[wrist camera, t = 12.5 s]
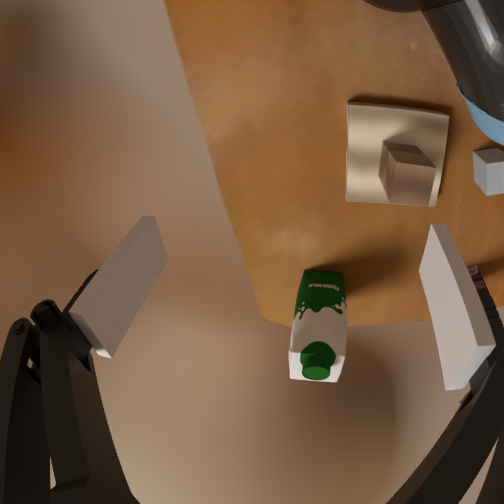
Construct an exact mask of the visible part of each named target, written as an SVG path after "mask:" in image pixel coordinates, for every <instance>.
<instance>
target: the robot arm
mask: <svg viewBox="0 0 504 504" xmlns="http://www.w3.org/2000/svg"><path fill="white" fill-rule="evenodd" d="M364 1H365V2H367V3H369V4H371V5H373V6H375V7H378V8H381V9H384V10H388V11H393V12H402V13H407V12H415V11H419V10H421V12H422V13H423V15H424V17H425V19H426V20H427V22H428V24H429V26H430V27H431V29H432V31H433V33H434V35H435V36H436V38H437V40H438V42H439V44H440V46H441V48H442V50H443V52H444V54H445V56H446V58H447V60H448V62H449V65H450V67H451V69H452V71H453V73H454V76H455V78H456V80H457V87H458V90H459V92H460V94H461V96H462V97H463V98H464V100H465V102H466V104H467V106H468V109H469V111H470V114H471V116H472V119H473V121H474V122H475V124H476V125H477V126H478V127H479V128H480V130H481V131H482V132H483V133H484V134H485V135H486V136H488V137H489V138H490V139H492V140H493V141H495V142H497V143H499V144H501V145H503V146H504V0H364ZM167 261H168V258H167V254H166V251H165V248H164V245H163V242H162V239H161V235H160V233H159V229H158V226H157V223H156V219H155V217H153V216H148V217H147V216H146V217H141V218H140V220H139V221H138V222H137V223H136V224H135V225H134V227H133V228H132V229H131V230H130V231H129V233H128V234H127V235H126V236H125V238H124V239H123V240H122V241H121V242H120V244H119V245H118V246H117V247H116V249H115V250H114V251H113V252H112V254H111V255H110V256H109V257H108V259H107V260H106V261H105V263H104V264H103V265H102V266H101V268H100V269H97V270H96V271H94V272H93V273H92V274H91V275H89V276H88V278H87V279H86V280H85V281H84V283H83V285H82V286H81V287H80V288H79V290H78V292H76V294H75V295H74V296H73V298H72V299H71V301H70V302H69V303H68V305H67V306H66V307H65V309H64V310H63V312H62V313H61V311H60V310H59V308H58V307H57V305H56V304H55V302H54V301H52V300H48V299H47V300H44V301H42V302H40V303H38V304H37V305H36V306H35V307H34V309H33V310H32V312H31V315H30V317H31V319H32V320H33V321H34V323H35V324H36V325H32V324H31V322H30V321H29V320H28V319H27V318H21V319H18V320H17V321H15V322H14V324H13V325H12V326H11V328H10V330H9V332H8V336H7V339H6V342H5V345H4V349H3V353H2V356H1V359H0V504H140V503H139V502H138V500H137V499H136V498H135V497H134V496H133V495H132V493H131V491H130V489H129V486H128V483H127V481H126V478H125V476H124V473H123V470H122V467H121V464H120V461H119V459H118V456H117V453H116V449H115V446H114V443H113V440H112V437H111V434H110V430H109V426H108V423H107V419H106V416H105V412H104V408H103V404H102V400H101V396H100V392H99V387H98V383H97V378H96V373H95V368H94V364H93V358H92V355H91V353H90V350H91V348H92V347H93V348H94V349H95V351H96V352H97V353H98V354H99V355H101V356H105V357H108V358H112V357H113V355H114V353H115V352H116V350H117V348H118V346H119V344H120V342H121V340H122V338H123V337H124V335H125V333H126V331H127V330H128V328H129V326H130V324H131V322H132V321H133V319H134V317H135V315H136V313H137V312H138V310H139V308H140V306H141V305H142V303H143V301H144V299H145V297H146V296H147V294H148V293H149V291H150V289H151V287H152V286H153V284H154V282H155V281H156V279H157V277H158V276H159V274H160V272H161V271H162V269H163V267H164V266H165V264H166V262H167ZM419 273H420V277H421V280H422V284H423V287H424V291H425V294H426V298H427V302H428V306H429V310H430V314H431V318H432V322H433V326H434V331H435V335H436V340H437V344H438V350H439V355H440V360H441V366H442V372H443V377H444V384H445V390H456V389H463V388H464V386H465V385H466V384H467V382H470V387H471V390H470V391H469V392H468V393H467V394H466V396H465V397H464V398H463V399H462V400H461V401H460V402H459V403H460V404H461V403H462V404H461V405H460V407H459V409H458V410H457V412H456V413H455V415H454V417H453V418H452V420H451V421H450V423H449V424H448V426H447V428H446V429H445V431H444V432H443V434H442V435H441V437H440V438H439V439H438V441H437V442H436V444H435V445H434V446H433V448H432V449H431V451H430V452H429V453H428V454H427V456H426V457H425V458H424V460H423V461H422V462H421V464H420V465H419V466H418V467H417V469H416V470H415V471H414V473H413V474H412V475H411V476H410V477H409V478H408V480H407V481H406V482H405V483H404V484H403V485H402V487H401V488H400V489H399V490H398V491H397V492H396V493H395V494H394V496H393V497H392V498H391V499H390V500H389V501H388V502H387V503H386V504H458V503H459V502H460V500H461V499H462V498H463V496H464V495H465V493H466V492H467V490H468V489H469V487H470V485H471V484H472V483H473V481H474V479H475V478H476V476H477V475H478V473H479V471H480V469H481V468H482V466H483V464H484V463H485V461H486V459H487V457H488V456H489V454H490V452H491V450H492V448H493V446H494V444H495V443H496V441H497V439H498V441H497V445H496V448H495V452H494V455H493V458H492V461H491V464H490V467H489V470H488V473H487V476H486V479H485V482H484V484H483V487H482V489H481V492H480V494H479V497H478V499H477V502H476V504H504V327H503V324H502V321H501V319H500V318H499V313H498V311H497V310H496V306H495V303H494V301H493V299H492V297H491V296H490V295H489V293H488V292H487V291H486V290H485V289H479V288H475V285H474V283H473V281H472V278H471V276H470V274H469V272H468V269H467V267H466V265H465V263H464V261H463V258H462V256H461V254H460V252H459V250H458V248H457V246H456V244H455V242H454V240H453V238H452V236H451V234H450V232H449V230H448V228H447V226H446V225H441V224H431V227H430V231H429V235H428V239H427V243H426V247H425V251H424V254H423V258H422V261H421V265H420V268H419ZM28 360H29V361H30V362H31V363H32V367H31V368H29V367H28V366H27V363H28ZM498 437H499V438H498ZM50 457H51V462H52V466H53V471H54V476H55V480H56V485H55V487H53V488H52V489H51V490H50Z"/></svg>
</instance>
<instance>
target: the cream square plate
mask: <svg viewBox="0 0 504 504" xmlns="http://www.w3.org/2000/svg"><path fill="white" fill-rule="evenodd" d="M448 123H449V116H448V115H447V114H445V113H444V112H439V111H433V110H426V109H419V108H412V107H404V106H395V105H385V104H374V103H360V102H347V154H346V181H345V199H346V201H351V202H370V203H386V204H398V203H390V202H389V200H388V197H387V195H386V192H385V190H384V188H383V185H382V183H381V180H380V178H379V176H378V175H379V167H380V159H381V151H382V141H385V142H392V143H400V144H407V145H413V146H417V147H418V148H419V149H420V150H421V151H422V152H423V153H424V154H425V155H426V156H427V158H428V159H429V160H430V161H431V162H432V163H433V164H434V166H435V167H436V174H435V178H434V183H433V188H432V192H431V197H430V201H429V205H428V207H435V206H436V201H437V196H438V191H439V186H440V180H441V175H442V169H443V162H444V156H445V149H446V141H447V133H448ZM401 205H407V204H401ZM414 206H415V205H414Z"/></svg>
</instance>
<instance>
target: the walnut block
mask: <svg viewBox="0 0 504 504" xmlns="http://www.w3.org/2000/svg"><path fill="white" fill-rule="evenodd" d="M435 174H436V167H435V166H434V164H433V163H432V162H431V161H430V160H429V159H428V158H427V156H426V155H425V154H424V153H423V152H422V151H421V150H420V149H419V148H418V147H417V146H413V145H407V144H400V143H392V142H385V141H382V151H381V159H380V167H379V175H378V176H379V178H380V180H381V183H382V185H383V188H384V190H385V192H386V195H387V197H388V200H389V202H390V203H398V204H407V205H415V206H424V207H428V205H429V201H430V197H431V192H432V188H433V183H434V178H435Z"/></svg>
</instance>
